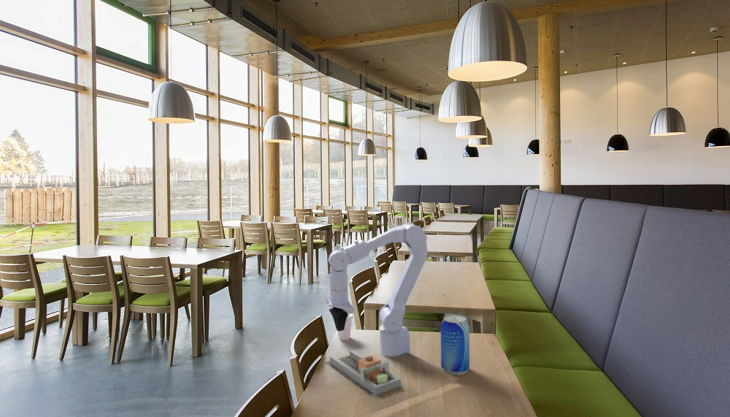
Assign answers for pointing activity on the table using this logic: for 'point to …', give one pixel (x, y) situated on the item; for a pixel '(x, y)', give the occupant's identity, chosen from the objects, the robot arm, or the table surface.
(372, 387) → the gray divided tray
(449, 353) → the beer can
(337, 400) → the table surface
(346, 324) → the smoothie
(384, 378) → the pale green cube
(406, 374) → the table surface
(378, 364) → the gate
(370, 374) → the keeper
